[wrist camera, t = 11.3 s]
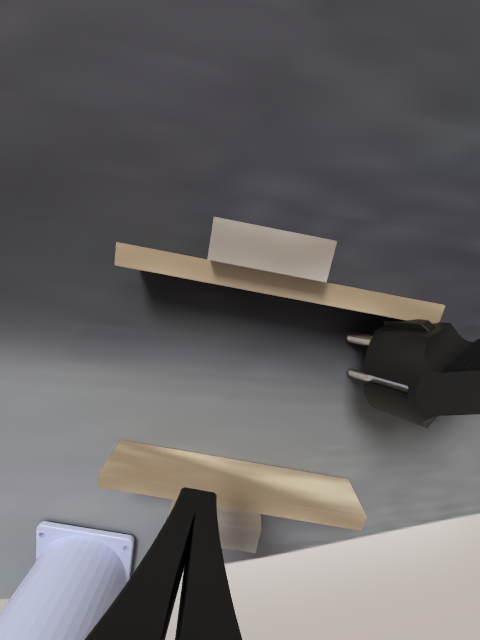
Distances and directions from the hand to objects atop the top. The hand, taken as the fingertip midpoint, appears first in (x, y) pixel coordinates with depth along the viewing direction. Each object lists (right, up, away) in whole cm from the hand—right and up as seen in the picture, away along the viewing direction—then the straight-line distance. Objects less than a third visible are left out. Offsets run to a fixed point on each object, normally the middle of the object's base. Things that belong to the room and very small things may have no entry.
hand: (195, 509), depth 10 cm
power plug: (+15, +6, +8) cm, 18 cm away
